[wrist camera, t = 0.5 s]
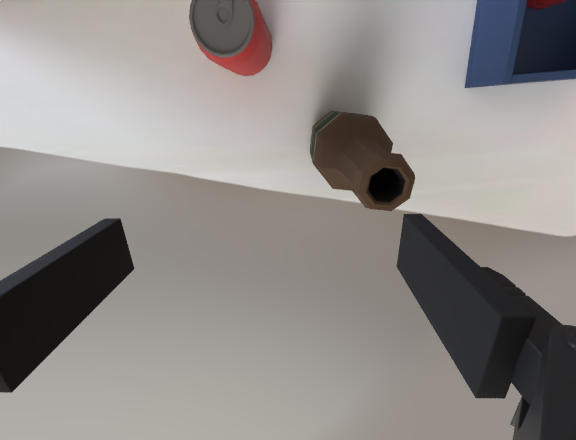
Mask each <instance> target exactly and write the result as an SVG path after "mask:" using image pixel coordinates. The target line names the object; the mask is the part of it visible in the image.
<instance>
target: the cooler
mask: <svg viewBox="0 0 576 440" xmlns="http://www.w3.org/2000/svg"><path fill="white" fill-rule="evenodd" d="M526 4H527V0H477V7H476V14H475V20H474V27H473V34H472V41H471V48H470V55H469V62H468V69H467V76H466V83H465V88H471V87H483V86H495V85H507V84H519V83H531V82H543V81H555V80H567V79H576V0H567V1H565V2H562V3H560V4H557V5H555V6H552V7H549V8H546V9H533V8H530V7H528V6H526Z"/></svg>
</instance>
